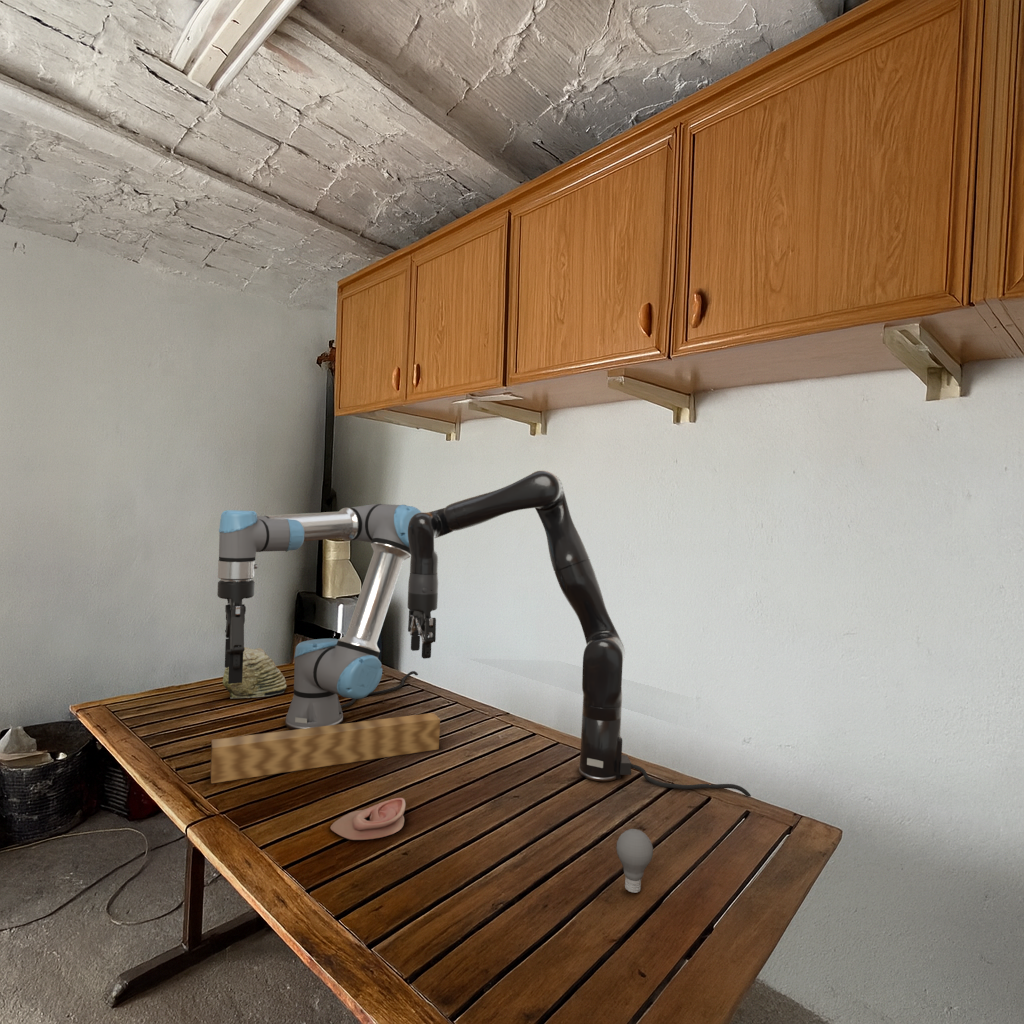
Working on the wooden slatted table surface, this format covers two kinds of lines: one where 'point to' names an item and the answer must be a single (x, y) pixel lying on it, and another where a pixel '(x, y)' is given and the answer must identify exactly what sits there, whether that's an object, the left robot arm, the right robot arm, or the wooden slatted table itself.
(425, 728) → the post
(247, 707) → the wooden slatted table surface
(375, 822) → the anatomical model
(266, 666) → the fossil
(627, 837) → the light bulb
